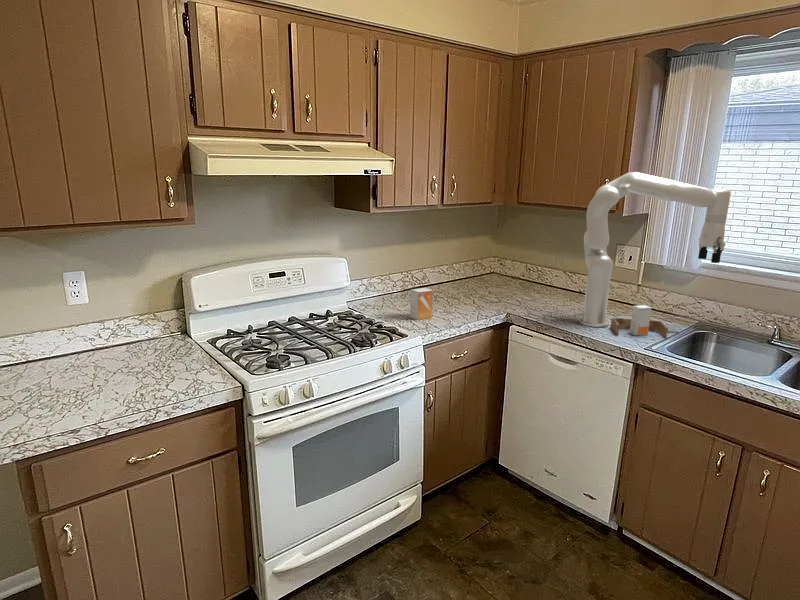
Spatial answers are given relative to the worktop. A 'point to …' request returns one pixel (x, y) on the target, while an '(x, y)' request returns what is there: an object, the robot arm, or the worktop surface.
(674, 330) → the mat
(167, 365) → the worktop surface
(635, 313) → the skincare box
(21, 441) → the worktop surface
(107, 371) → the worktop surface
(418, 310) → the small box
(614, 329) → the brown u-shaped bracket
